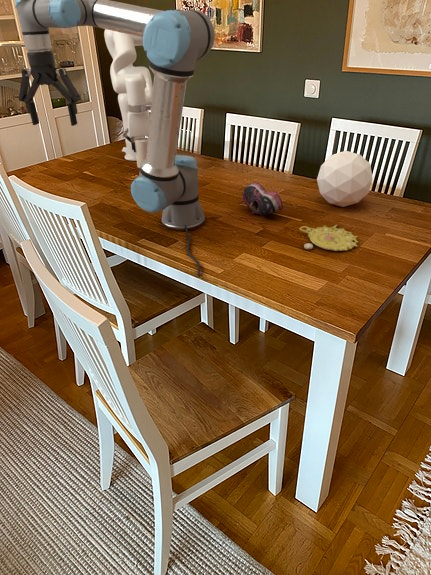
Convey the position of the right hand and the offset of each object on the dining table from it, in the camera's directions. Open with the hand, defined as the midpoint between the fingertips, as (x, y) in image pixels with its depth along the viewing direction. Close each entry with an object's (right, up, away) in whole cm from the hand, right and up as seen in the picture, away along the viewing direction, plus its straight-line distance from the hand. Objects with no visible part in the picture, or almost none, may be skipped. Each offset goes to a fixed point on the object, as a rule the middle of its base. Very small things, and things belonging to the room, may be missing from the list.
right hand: (55, 124), depth 144 cm
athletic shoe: (+68, -25, +19) cm, 75 cm away
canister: (+20, +2, +58) cm, 61 cm away
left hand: (+20, +8, +54) cm, 58 cm away
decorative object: (+89, -38, -2) cm, 96 cm away
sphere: (+100, -22, +22) cm, 104 cm away
